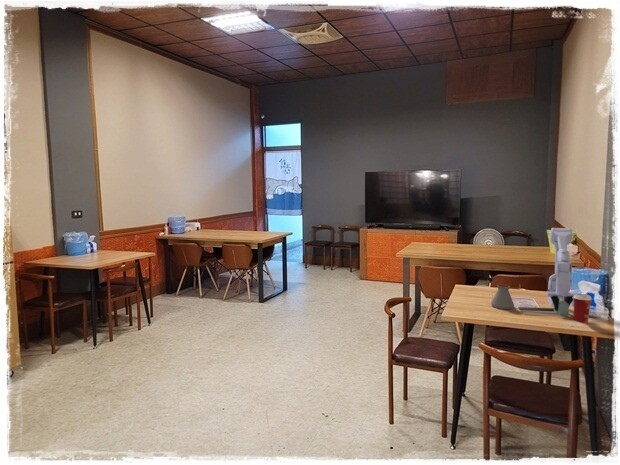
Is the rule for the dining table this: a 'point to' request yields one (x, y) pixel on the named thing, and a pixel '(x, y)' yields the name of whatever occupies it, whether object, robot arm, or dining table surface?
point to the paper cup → (581, 307)
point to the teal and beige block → (562, 308)
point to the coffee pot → (502, 297)
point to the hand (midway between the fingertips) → (560, 310)
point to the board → (541, 312)
